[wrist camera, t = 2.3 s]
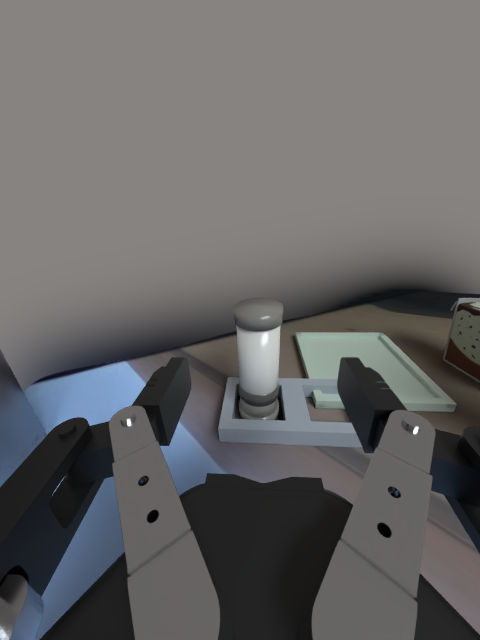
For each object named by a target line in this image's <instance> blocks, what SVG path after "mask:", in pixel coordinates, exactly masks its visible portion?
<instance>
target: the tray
mask: <svg viewBox="0 0 480 640" xmlns="http://www.w3.org/2000/svg"><path fill="white" fill-rule="evenodd" d="M295 339H296V343H297V346H298V350H299V353H300V357H301V360H302V364H303V367H304V371H305V374H306V378H307V379H338V373H339V366H340V360H341V358H342V357H358V358H359V359H360V360H361V362H362V363H363V365H364V366H365V367H370V368H372V369H373V370H375V371H376V372H378V373H379V374H380V375H381V376H382V378H383V379H384V380H385V383H387V384H388V385H389V387H390V389H392V391H393V392H394V393H395V395H396V396H397V397H398V398H399V400H400V401H401V402H402V404H403V405H404V406H405V408H406V409H407V410H408V411H435V412H454V410H455V408H456V406H457V404H456V403H455V402H454V401H453V400H452V399H451V398H450V397H449V396H448V395H447V394H446V393H445V392H444V391H443V390H442V389H441V388H440V387H439V386H438V385H437V384H436V383H434V382H433V381H432V380H431V379H430V378H429V377H428V376H427V375H426V374H425V373H424V372H423V371H422V370H421V369H420V368H419V367H418V366H417V365H416V364H415V363H414V362H413V361H412V360H411V359H410V358H409V357H408V356H407V355H405V354H404V353H403V352H402V351H401V350H400V349H399V348H398V347H397V346H396V345H395V344H394V343H393V342H392V341H391V340H390V339H389V338H388V337H387V336H386V335H385V334H384V333H295ZM312 398H313V402H314V405H315V408H325V409H345V407H344V405H343V403H342V401H341V398H340V396H339V394H322V392H321V390H313V395H312Z"/></svg>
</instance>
